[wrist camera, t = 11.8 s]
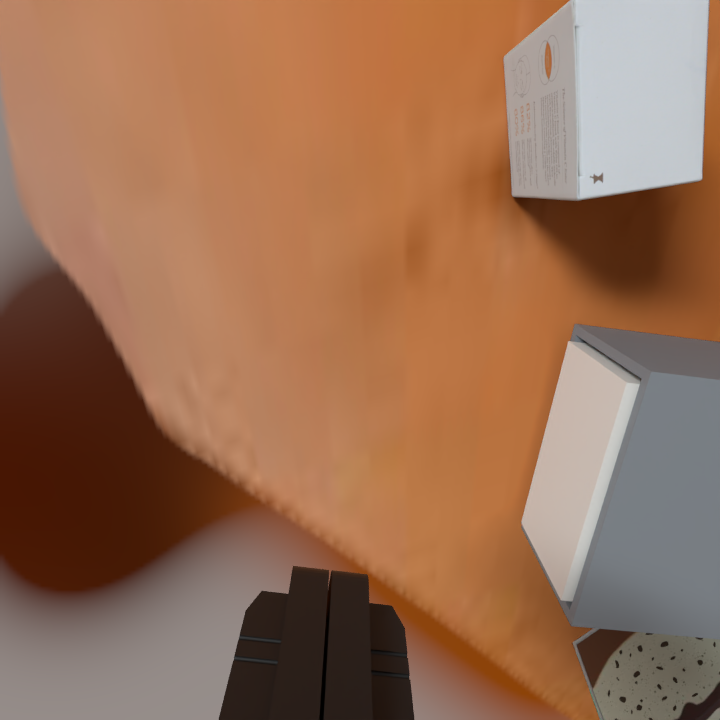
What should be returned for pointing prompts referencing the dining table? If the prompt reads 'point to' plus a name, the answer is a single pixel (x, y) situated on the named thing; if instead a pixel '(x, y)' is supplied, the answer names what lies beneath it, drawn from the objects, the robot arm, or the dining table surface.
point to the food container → (651, 675)
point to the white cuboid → (577, 461)
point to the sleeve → (658, 495)
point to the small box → (608, 99)
